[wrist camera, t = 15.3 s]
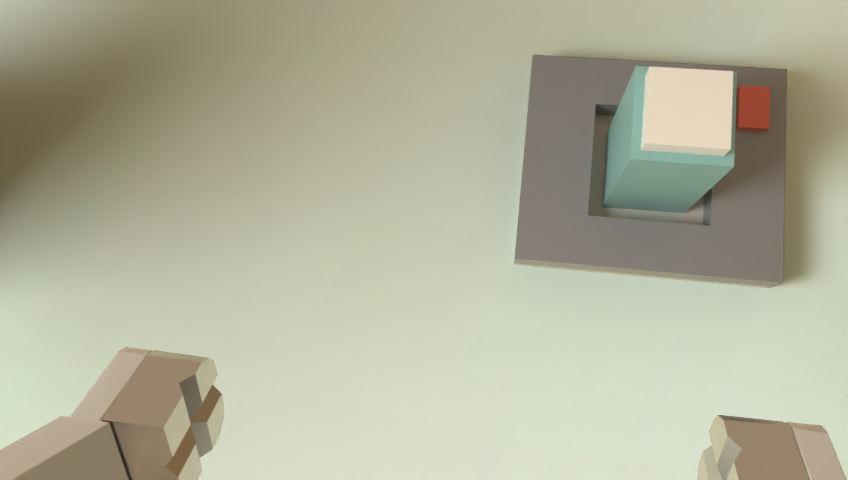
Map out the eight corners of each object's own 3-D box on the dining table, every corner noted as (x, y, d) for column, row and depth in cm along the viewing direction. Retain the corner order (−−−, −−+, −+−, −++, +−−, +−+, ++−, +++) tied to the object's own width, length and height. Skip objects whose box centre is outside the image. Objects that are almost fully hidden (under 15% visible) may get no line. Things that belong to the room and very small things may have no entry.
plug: (602, 207, 42) (634, 152, 32) (607, 132, 42) (639, 56, 33) (683, 213, 41) (741, 159, 31) (687, 137, 42) (744, 62, 32)
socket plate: (514, 264, 42) (515, 257, 39) (531, 69, 44) (533, 51, 42) (768, 287, 40) (785, 281, 38) (773, 83, 42) (789, 66, 40)
